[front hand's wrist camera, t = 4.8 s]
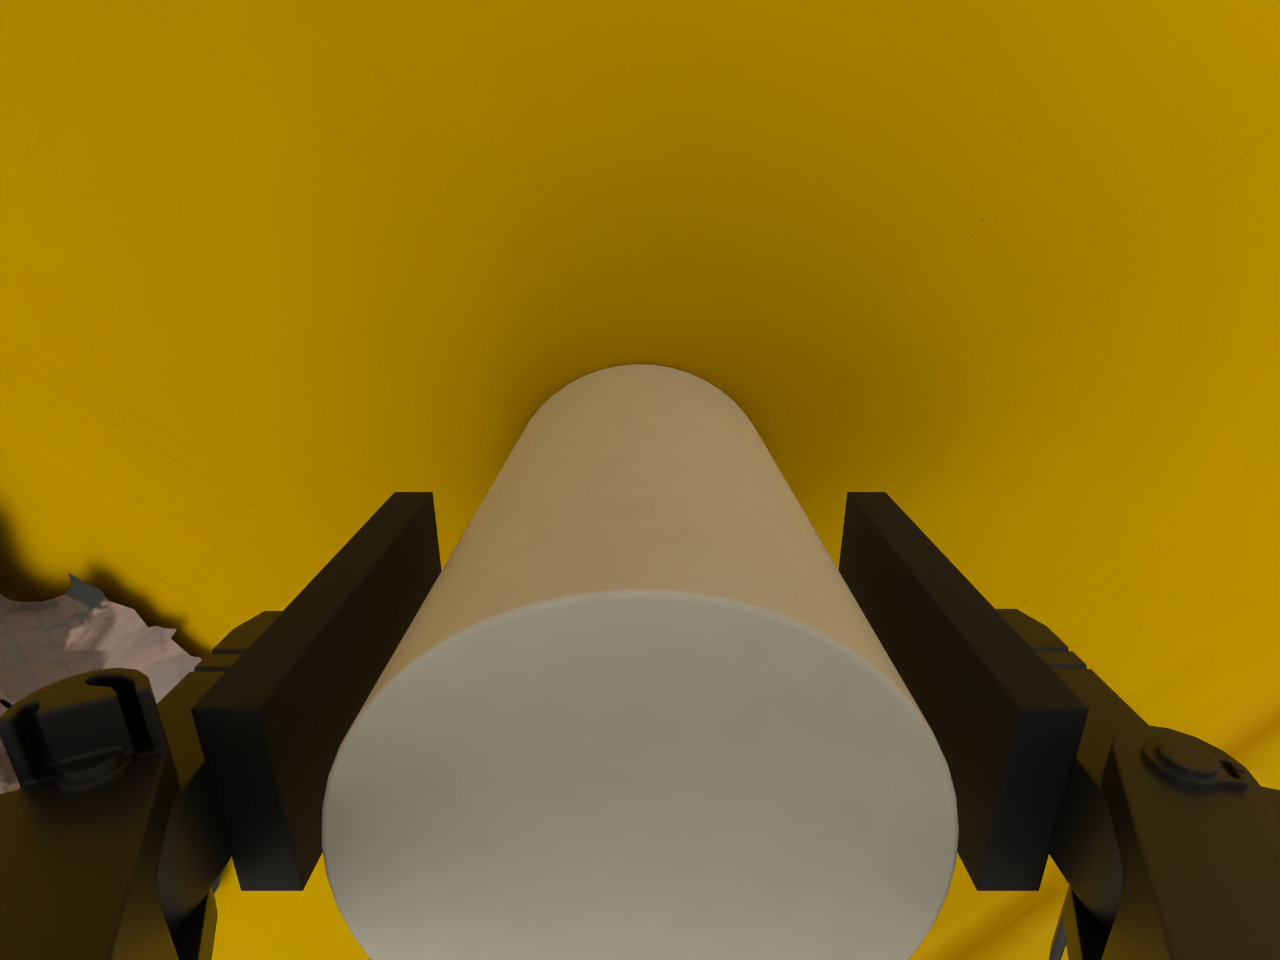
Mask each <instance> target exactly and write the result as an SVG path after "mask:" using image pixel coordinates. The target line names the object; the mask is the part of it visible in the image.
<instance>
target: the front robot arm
mask: <svg viewBox="0 0 1280 960" xmlns="http://www.w3.org/2000/svg"><path fill="white" fill-rule="evenodd" d="M839 572H840V574H841V576H842V578H843V579H844V581H845V583H846V584H847V586H848V588H849V590H850V591H851V593H852V595H853V596H854V598H855V600H856V602H857V603H858V605H859V607H860V608H861V610H862V612H863V613H864V615H865V617H866V619H867V620H868V622H869V624H870V625H871V627H872V629H873V631H874V632H875V634H876V636H877V637H878V639H879V641H880V643H881V644H882V646H883V648H884V649H885V651H886V653H887V655H888V656H889V658H890V660H891V661H892V663H893V665H894V666H895V668H896V670H897V672H898V673H899V675H900V677H901V678H902V680H903V682H904V684H905V685H906V687H907V689H908V690H909V692H910V694H911V696H912V697H913V699H914V701H915V702H916V704H917V706H918V707H919V709H920V711H921V713H922V714H923V716H924V718H925V719H926V721H927V723H928V725H929V726H930V728H931V730H932V731H933V733H934V736H935V738H936V740H937V742H938V744H939V746H940V749H941V751H942V753H943V755H944V757H945V759H946V761H947V764H948V767H949V771H950V775H951V779H952V782H953V786H954V790H955V794H956V802H957V814H958V826H959V835H958V846H957V852H958V854H959V856H960V858H961V860H962V862H963V864H964V866H965V868H966V870H967V872H968V873H969V875H970V877H971V879H972V881H973V883H974V885H975V887H976V889H977V891H1039V888H1040V884H1041V880H1042V877H1043V873H1044V870H1045V866H1046V863H1047V859H1048V855H1049V854H1050V856H1051V857H1052V859H1053V860H1054V862H1055V863H1056V865H1057V866H1058V868H1059V869H1060V871H1061V872H1062V874H1063V876H1064V877H1065V879H1066V880H1067V882H1068V883H1069V887H1068V890H1067V894H1066V897H1065V900H1064V904H1063V907H1062V910H1061V914H1060V917H1059V920H1058V924H1057V927H1056V930H1055V934H1054V937H1053V940H1052V944H1051V950H1050V957H1049V960H1061V958H1062V954H1063V951H1064V948H1065V946H1067V950H1068V957H1069V960H1280V790H1275V789H1271V788H1266V787H1261V786H1260V785H1259V784H1258V782H1257V781H1256V780H1255V779H1254V777H1253V776H1252V775H1251V774H1250V772H1249V771H1248V770H1247V769H1246V768H1245V767H1244V766H1243V765H1241V764H1240V763H1239V762H1237V761H1236V760H1235V759H1233V758H1232V757H1231V756H1229V755H1228V754H1226V753H1225V752H1224V751H1222V750H1220V749H1218V748H1216V747H1214V746H1212V745H1210V744H1208V743H1206V742H1204V741H1202V740H1200V739H1198V738H1196V737H1193V736H1190V735H1187V734H1184V733H1181V732H1178V731H1175V730H1172V729H1169V728H1162V727H1154V726H1149V725H1148V724H1147V723H1146V722H1145V721H1144V720H1143V719H1142V718H1141V717H1140V716H1138V715H1137V714H1136V713H1135V712H1134V711H1133V710H1132V709H1131V708H1130V707H1129V706H1128V705H1127V704H1126V703H1125V702H1124V701H1123V700H1122V699H1121V698H1120V697H1119V696H1118V695H1117V694H1116V693H1115V692H1114V691H1113V690H1112V689H1111V688H1110V687H1109V686H1108V685H1107V684H1106V683H1105V682H1103V681H1102V680H1101V679H1100V678H1099V677H1098V676H1097V675H1096V674H1095V673H1094V672H1093V671H1092V670H1091V669H1087V668H1086V664H1085V663H1084V662H1083V661H1082V660H1081V659H1080V658H1079V657H1078V656H1077V655H1076V654H1075V653H1074V652H1069V650H1068V647H1067V646H1066V645H1065V644H1064V643H1063V642H1062V641H1061V640H1060V639H1059V638H1058V637H1057V636H1056V635H1055V634H1054V633H1053V632H1052V631H1051V630H1050V629H1049V628H1048V627H1047V626H1045V625H1043V624H1041V623H1040V622H1038V621H1036V620H1034V619H1033V618H1031V617H1029V616H1027V615H1026V614H1024V613H1022V612H1020V611H1019V610H1017V609H994V607H993V606H992V605H991V604H990V603H989V602H988V601H987V600H986V599H985V598H984V597H983V596H982V595H981V594H980V593H979V592H978V590H977V589H976V588H975V587H974V586H973V585H972V584H971V583H970V582H969V581H968V580H967V579H966V578H965V577H964V576H963V574H962V573H961V572H960V571H959V570H958V569H957V568H956V567H955V566H954V565H953V564H952V563H951V562H950V561H949V560H948V559H947V557H946V556H945V555H944V554H943V553H942V552H941V551H940V550H939V549H938V548H937V547H936V546H935V545H934V544H933V543H932V541H931V540H930V539H929V538H928V537H927V536H926V535H925V534H924V533H923V532H922V531H921V530H920V529H919V528H918V527H917V526H916V524H915V523H914V522H913V521H912V520H911V519H910V518H909V517H908V516H907V515H906V514H905V513H904V512H903V511H902V510H901V508H900V507H899V506H898V505H897V504H896V503H895V502H894V501H893V500H892V499H891V498H890V497H889V496H888V495H887V494H886V493H885V492H848V493H847V501H846V510H845V519H844V528H843V536H842V545H841V554H840V563H839ZM440 573H441V563H440V554H439V545H438V537H437V528H436V519H435V510H434V502H433V493H432V492H395V493H394V494H393V495H392V496H391V497H390V498H389V499H388V500H387V501H386V502H385V503H384V504H383V505H382V506H381V507H380V508H379V510H378V511H377V512H376V513H375V514H374V515H373V516H372V517H371V518H370V519H369V520H368V521H367V522H366V523H365V524H364V526H363V527H362V528H361V529H360V530H359V531H358V532H357V533H356V534H355V535H354V536H353V537H352V538H351V539H350V540H349V541H348V543H347V544H346V545H345V546H344V547H343V548H342V549H341V550H340V551H339V552H338V553H337V554H336V555H335V556H334V557H333V558H332V560H331V561H330V562H329V563H328V564H327V565H326V566H325V567H324V568H323V569H322V570H321V571H320V572H319V573H318V574H317V576H316V577H315V578H314V579H313V580H312V581H311V582H310V583H309V584H308V585H307V586H306V587H305V588H304V589H303V590H302V591H301V593H300V594H299V595H298V596H297V597H296V598H295V599H294V600H293V601H292V602H291V603H290V604H289V605H288V606H287V607H286V609H285V610H284V611H264V612H262V613H261V614H259V615H257V616H255V617H254V618H252V619H250V620H248V621H247V622H245V623H243V624H241V625H240V626H238V627H236V628H234V629H233V630H232V631H231V632H230V633H229V634H228V635H227V636H226V637H225V638H224V639H223V640H222V641H221V642H220V643H219V644H218V645H217V646H216V647H215V648H214V649H213V650H212V654H207V655H206V656H205V657H204V658H203V659H202V660H201V661H200V662H199V663H198V664H197V665H196V666H195V667H194V672H189V673H188V674H187V675H186V676H185V677H184V678H183V679H182V680H181V681H180V682H179V683H178V684H177V685H176V686H175V687H174V688H173V689H172V690H171V691H170V692H169V693H168V694H167V695H166V696H165V697H164V698H162V699H161V700H160V701H159V702H158V703H157V704H156V701H155V697H154V694H153V691H152V687H151V684H150V681H149V677H148V676H146V675H145V674H143V673H142V672H140V671H139V670H136V669H127V668H118V667H117V668H109V669H101V670H93V671H89V672H85V673H82V674H78V675H75V676H71V677H68V678H64V679H61V680H59V681H57V682H55V683H52V684H50V685H48V686H45V687H43V688H41V689H39V690H36V691H34V692H33V693H31V694H29V695H28V696H26V697H25V698H23V699H22V700H20V701H19V702H17V703H15V704H14V705H12V706H11V707H10V708H9V709H8V710H7V711H6V712H5V713H4V714H3V715H2V716H1V717H0V738H1V740H2V742H3V745H4V747H5V750H6V752H7V755H8V757H9V760H10V762H11V765H12V767H13V770H14V772H15V775H16V777H17V779H18V782H19V784H20V788H19V790H15V791H10V792H6V793H1V794H0V960H211V959H212V952H213V945H214V937H215V930H216V923H217V908H216V901H215V897H214V894H213V890H212V885H213V884H214V882H215V881H216V879H217V878H218V876H219V875H220V873H221V872H222V870H223V869H224V867H225V865H226V864H227V862H228V861H229V859H230V858H231V856H232V859H233V863H234V866H235V870H236V873H237V877H238V880H239V884H240V888H241V891H303V889H304V887H305V885H306V883H307V881H308V879H309V877H310V875H311V873H312V871H313V870H314V868H315V866H316V864H317V862H318V860H319V858H320V856H321V854H322V852H323V850H322V807H323V802H324V796H325V791H326V786H327V781H328V776H329V773H330V771H331V768H332V765H333V763H334V760H335V758H336V755H337V752H338V750H339V747H340V745H341V743H342V741H343V739H344V738H345V736H346V734H347V733H348V731H349V729H350V727H351V726H352V724H353V722H354V721H355V719H356V717H357V715H358V714H359V712H360V710H361V709H362V707H363V705H364V703H365V702H366V700H367V698H368V697H369V695H370V693H371V691H372V690H373V688H374V686H375V685H376V683H377V681H378V679H379V678H380V676H381V674H382V673H383V671H384V669H385V667H386V666H387V664H388V662H389V661H390V659H391V657H392V655H393V654H394V652H395V650H396V649H397V647H398V645H399V643H400V642H401V640H402V638H403V637H404V635H405V633H406V631H407V630H408V628H409V626H410V625H411V623H412V621H413V619H414V618H415V616H416V614H417V613H418V611H419V609H420V607H421V606H422V604H423V602H424V601H425V599H426V597H427V595H428V594H429V592H430V590H431V589H432V587H433V585H434V583H435V582H436V580H437V578H438V577H439V575H440Z"/></svg>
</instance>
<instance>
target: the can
mask: <svg viewBox="0 0 1280 960" xmlns="http://www.w3.org/2000/svg"><path fill="white" fill-rule="evenodd" d="M958 835H959V826H958V814H957V802H956V794H955V790H954V786H953V782H952V779H951V775H950V771H949V767H948V764H947V761H946V759H945V757H944V755H943V753H942V751H941V749H940V746H939V744H938V742H937V740H936V738H935V736H934V733H933V731H932V730H931V728H930V726H929V725H928V723H927V721H926V719H925V718H924V716H923V714H922V713H921V711H920V709H919V707H918V706H917V704H916V702H915V701H914V699H913V697H912V696H911V694H910V692H909V690H908V689H907V687H906V685H905V684H904V682H903V680H902V678H901V677H900V675H899V673H898V672H897V670H896V668H895V666H894V665H893V663H892V661H891V660H890V658H889V656H888V655H887V653H886V651H885V649H884V648H883V646H882V644H881V643H880V641H879V639H878V637H877V636H876V634H875V632H874V631H873V629H872V627H871V625H870V624H869V622H868V620H867V619H866V617H865V615H864V613H863V612H862V610H861V608H860V607H859V605H858V603H857V602H856V600H855V598H854V596H853V595H852V593H851V591H850V590H849V588H848V586H847V584H846V583H845V581H844V579H843V578H842V576H841V574H840V572H839V571H838V569H837V567H836V566H835V564H834V562H833V560H832V559H831V557H830V555H829V554H828V552H827V550H826V549H825V547H824V545H823V543H822V542H821V540H820V538H819V537H818V535H817V533H816V531H815V530H814V528H813V526H812V525H811V523H810V521H809V519H808V518H807V516H806V514H805V513H804V511H803V509H802V507H801V506H800V504H799V502H798V501H797V499H796V497H795V496H794V494H793V492H792V490H791V489H790V487H789V485H788V484H787V482H786V480H785V478H784V477H783V475H782V473H781V472H780V470H779V468H778V466H777V465H776V463H775V461H774V460H773V458H772V456H771V454H770V453H769V451H768V449H767V448H766V446H765V444H764V443H763V441H762V439H761V437H760V436H759V434H758V432H757V431H756V429H755V427H754V426H753V424H752V423H751V421H750V420H749V418H748V417H747V415H746V414H745V413H744V412H743V411H742V410H741V408H740V407H739V406H738V405H737V404H736V403H735V402H734V401H733V400H732V399H731V398H729V397H728V396H727V395H726V394H725V393H724V392H722V391H721V390H720V389H718V388H717V387H715V386H713V385H712V384H710V383H709V382H707V381H705V380H703V379H701V378H699V377H697V376H695V375H692V374H690V373H687V372H684V371H681V370H678V369H674V368H670V367H664V366H658V365H645V364H632V365H622V366H615V367H611V368H606V369H602V370H599V371H596V372H593V373H590V374H588V375H585V376H583V377H581V378H579V379H577V380H575V381H573V382H571V383H569V384H568V385H566V386H565V387H563V388H562V389H561V390H559V391H558V392H556V393H555V394H554V395H552V396H551V397H550V398H549V399H548V400H547V401H546V402H545V403H544V404H543V405H542V406H541V407H540V408H539V409H538V411H537V412H536V413H535V414H534V416H533V417H532V418H531V419H530V421H529V423H528V424H527V426H526V428H525V429H524V431H523V433H522V434H521V436H520V438H519V439H518V441H517V443H516V445H515V446H514V448H513V450H512V451H511V453H510V455H509V457H508V458H507V460H506V462H505V463H504V465H503V467H502V469H501V470H500V472H499V474H498V475H497V477H496V479H495V481H494V482H493V484H492V486H491V487H490V489H489V491H488V493H487V494H486V496H485V498H484V499H483V501H482V503H481V505H480V506H479V508H478V510H477V511H476V513H475V515H474V517H473V518H472V520H471V522H470V523H469V525H468V527H467V529H466V530H465V532H464V534H463V535H462V537H461V539H460V541H459V542H458V544H457V546H456V547H455V549H454V551H453V553H452V554H451V556H450V558H449V559H448V561H447V563H446V565H445V566H444V568H443V570H442V571H441V573H440V575H439V577H438V578H437V580H436V582H435V583H434V585H433V587H432V589H431V590H430V592H429V594H428V595H427V597H426V599H425V601H424V602H423V604H422V606H421V607H420V609H419V611H418V613H417V614H416V616H415V618H414V619H413V621H412V623H411V625H410V626H409V628H408V630H407V631H406V633H405V635H404V637H403V638H402V640H401V642H400V643H399V645H398V647H397V649H396V650H395V652H394V654H393V655H392V657H391V659H390V661H389V662H388V664H387V666H386V667H385V669H384V671H383V673H382V674H381V676H380V678H379V679H378V681H377V683H376V685H375V686H374V688H373V690H372V691H371V693H370V695H369V697H368V698H367V700H366V702H365V703H364V705H363V707H362V709H361V710H360V712H359V714H358V715H357V717H356V719H355V721H354V722H353V724H352V726H351V727H350V729H349V731H348V733H347V734H346V736H345V738H344V739H343V741H342V743H341V745H340V747H339V750H338V752H337V755H336V758H335V760H334V763H333V765H332V768H331V771H330V773H329V776H328V781H327V786H326V791H325V796H324V802H323V807H322V850H323V856H324V862H325V868H326V874H327V878H328V881H329V884H330V887H331V889H332V892H333V895H334V898H335V901H336V904H337V906H338V908H339V910H340V912H341V914H342V916H343V918H344V920H345V921H346V923H347V925H348V927H349V929H350V931H351V933H352V934H353V936H354V937H355V938H356V940H357V941H358V942H359V944H360V945H361V946H362V948H363V949H364V951H365V952H366V953H367V955H368V956H369V957H370V959H371V960H908V959H909V958H910V957H911V956H912V954H913V953H914V952H915V951H916V950H917V949H918V947H919V946H920V944H921V942H922V941H923V939H924V938H925V936H926V935H927V933H928V932H929V930H930V929H931V927H932V925H933V924H934V922H935V920H936V918H937V916H938V914H939V912H940V909H941V907H942V905H943V903H944V901H945V898H946V896H947V894H948V891H949V887H950V883H951V879H952V876H953V872H954V868H955V865H956V856H957V846H958Z"/></svg>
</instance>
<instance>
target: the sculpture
mask: <svg viewBox="0 0 1280 960" xmlns="http://www.w3.org/2000/svg"><path fill="white" fill-rule="evenodd" d="M68 574H69V573H68ZM69 576H70V579H71V588H70V589H69V590H68V591H67V592H66V593H65V594H64V595H61V596H59V597H56V598H54V599H50V600H45V601H38V602H19V601H13V600H10V599H7V598H5V597H4V596H2V595H1V594H0V699H3V700H5V701H7V702H9V703H10V704H11V705H14V704H15V703H17V702H19V701H20V700H22V699H23V698H25V697H26V696H28V695H29V694H31V693H33V692H34V691H36V690H39V689H41V688H43V687H45V686H48V685H50V684H52V683H55V682H57V681H59V680H61V679H64V678H68V677H71V676H75V675H78V674H82V673H85V672H89V671H93V670H101V669H109V668H117V667H118V668H127V669H136V670H139V671H140V672H142V673H143V674H145V675H146V676H148V677H149V681H150V684H151V687H152V691H153V694H154V697H155V701H156V704H157V703H158V702H159V701H160V700H161V699H162V698H164V697H165V696H166V695H167V694H168V693H169V692H170V691H171V690H172V689H173V688H174V687H175V686H176V685H177V684H178V683H179V682H180V681H181V680H182V679H183V678H184V677H185V676H186V675H187V674H188V673H189V672H194V667H195V666H196V665H197V664H198V663H199V662H200V661H201V660H202V659H201V658H200V657H194V656H190V655H189V654H188V653H187V652H186V651H184V650H183V649H182V648H181V647H180V646H179V645H177V644H176V643H175V642H174V641H173V640H172V639H171V638H172V636H173V635H174V633H175V632H176V630H177V629H169V628H162V627H159V626H153V627H148V626H147V625H146V624H145V623H144V621H143V620H142V619H141V618H140V616H139V615H138V614H137V612H136V611H135V610H134V609H132V608H129V607H126V606H123V605H120V604H117V603H114V602H110V601H108V599H107V598H106V596H105V595H104V594H103V592H102V591H101V589H99V588H97V587H95V586H92V585H90V584H88V583H85V582H83V581H81V580H79V579H78V578H76V577H74V576H73V575H71V574H69ZM7 710H8V708H6V707H5V706H3V705H2V704H1V703H0V717H1V716H2V715H3V714H4V713H5V712H6V711H7ZM19 788H20V784H19V782H18V779H17V777H16V775H15V772H14V770H13V767H12V765H11V762H10V760H9V757H8V755H7V752H6V750H5V747H4V745H3V742H2V740H1V738H0V794H1V793H6V792H10V791H15V790H19ZM219 882H220V875H219V876H218V878H217V879H216V881H215V882H214V884H213V885H212V890H213V894H214V893H215V891H216V889H217V888H218V886H219Z"/></svg>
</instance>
